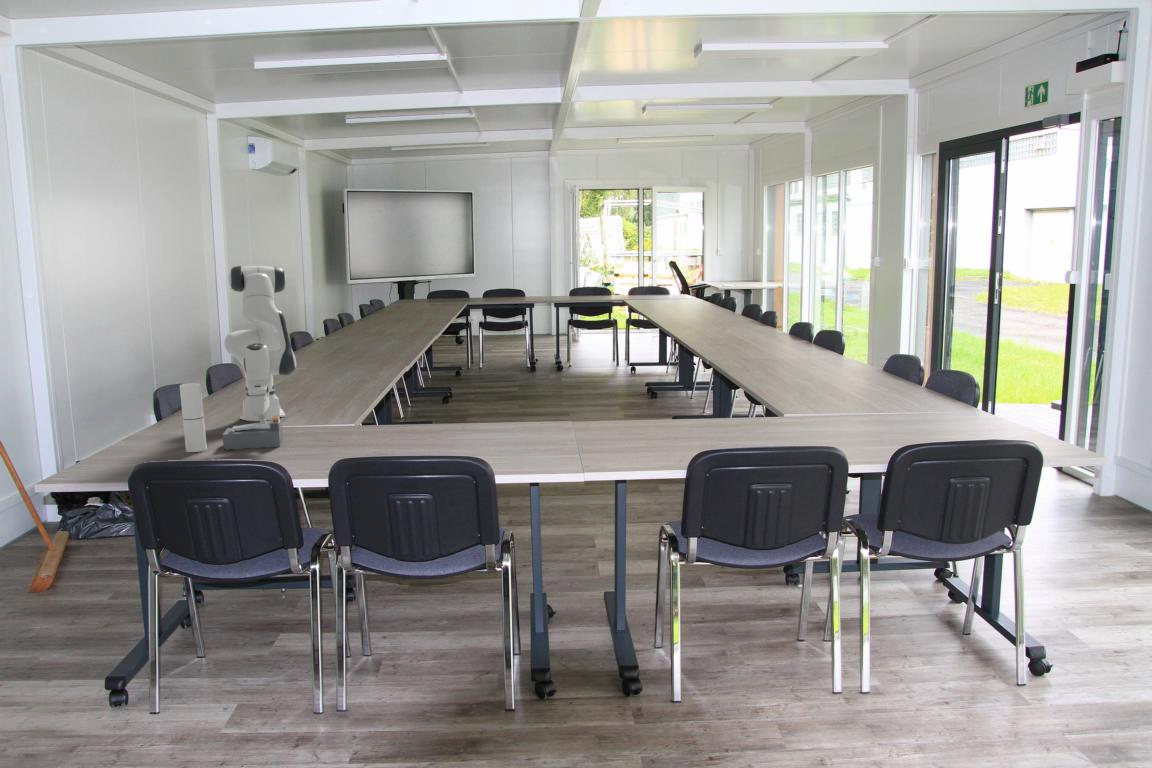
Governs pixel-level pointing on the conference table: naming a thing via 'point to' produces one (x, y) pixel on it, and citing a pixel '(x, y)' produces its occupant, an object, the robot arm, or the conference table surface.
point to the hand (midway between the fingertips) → (263, 423)
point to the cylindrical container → (193, 417)
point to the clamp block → (253, 437)
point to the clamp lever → (256, 424)
